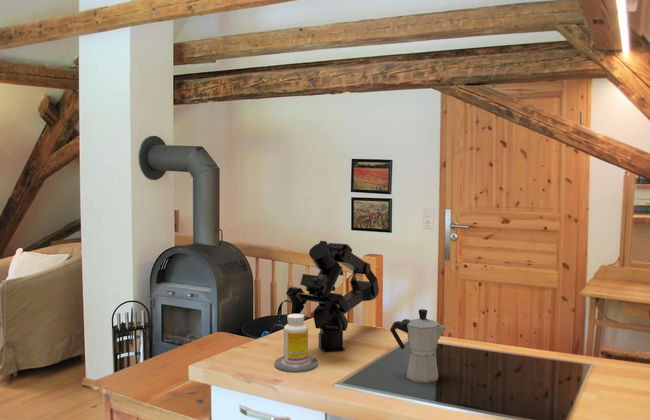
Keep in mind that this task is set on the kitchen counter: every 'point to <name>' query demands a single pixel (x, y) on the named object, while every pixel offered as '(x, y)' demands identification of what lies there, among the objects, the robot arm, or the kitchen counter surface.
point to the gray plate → (296, 365)
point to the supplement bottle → (295, 340)
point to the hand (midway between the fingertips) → (304, 324)
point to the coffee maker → (420, 346)
